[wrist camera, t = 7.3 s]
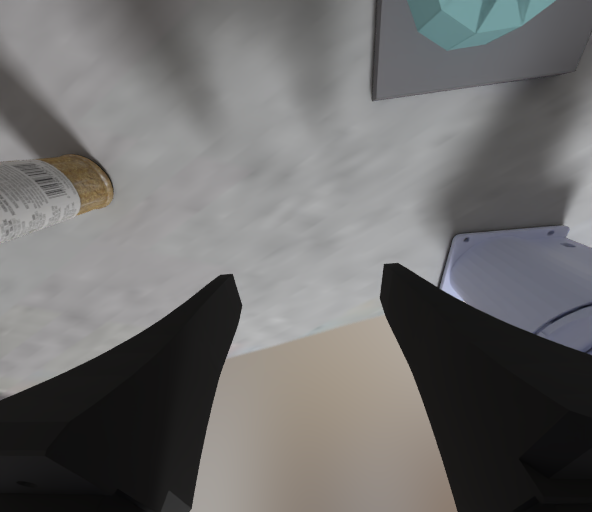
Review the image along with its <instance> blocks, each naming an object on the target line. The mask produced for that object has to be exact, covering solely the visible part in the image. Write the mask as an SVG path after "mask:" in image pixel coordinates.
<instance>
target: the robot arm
mask: <svg viewBox="0 0 592 512" xmlns="http://www.w3.org/2000/svg"><path fill="white" fill-rule="evenodd" d="M569 230H570V229H569V227H567V226H564V225H559V226H548V227H536V228H524V229H513V230H501V231H489V232H477V233H466V234H458V235H456V236H455V237H454V238H453V241H452V245H451V248H450V252H449V255H448V259H447V263H446V266H445V270H444V273H443V277H442V281H441V284H440V288H438V287H436V286H434V285H433V284H431V283H430V282H428V281H426V280H425V279H423V278H421V277H420V276H418V275H417V274H415V273H414V272H412V271H410V270H409V269H407V268H405V267H404V266H402V265H400V264H398V263H392V264H384V268H383V277H382V285H381V293H380V300H381V303H382V307H383V310H384V313H385V316H386V318H387V320H388V323H389V325H390V327H391V329H392V331H393V333H394V335H395V337H396V339H397V341H398V343H399V345H400V348H401V349H402V352H403V354H404V356H405V358H406V360H407V362H408V364H409V367H410V369H411V371H412V373H413V376H414V379H415V381H416V384H417V387H418V390H419V392H420V395H421V398H422V400H423V403H424V406H425V409H426V412H427V415H428V418H429V421H430V423H431V427H432V430H433V433H434V436H435V439H436V442H437V445H438V448H439V451H440V454H441V457H442V460H443V464H444V467H445V470H446V474H447V477H448V480H449V484H450V487H451V490H452V494H453V497H454V500H455V504H456V507H457V511H458V512H592V248H591V247H588V246H586V245H583V244H581V243H578V242H575V241H573V240H570V239H568V238H566V236H567V234H568V232H569ZM465 238H467V239H466V240H464V239H465ZM463 301H465V302H466V303H467V304H466V303H465V302H463ZM241 309H242V303H241V300H240V297H239V293H238V290H237V287H236V283H235V280H234V277H233V274H225V275H220V276H218V277H217V278H215V279H214V280H213V281H211V282H210V283H209V284H208V285H206V286H205V287H204V288H203V289H201V290H200V291H199V292H197V293H196V294H195V295H194V296H192V297H191V298H190V299H189V300H187V301H186V302H185V303H183V304H182V305H181V306H179V307H178V308H176V309H175V310H174V311H172V312H171V313H170V314H168V315H167V316H165V317H164V318H163V319H161V320H160V321H158V322H157V323H155V324H154V325H152V326H150V327H149V328H147V329H146V330H144V331H142V332H141V333H139V334H137V335H136V336H134V337H132V338H130V339H129V340H127V341H125V342H123V343H122V344H120V345H118V346H116V347H114V348H113V349H111V350H109V351H107V352H105V353H103V354H101V355H100V356H98V357H96V358H94V359H92V360H90V361H88V362H86V363H84V364H82V365H79V366H77V367H75V368H73V369H71V370H69V371H67V372H65V373H63V374H60V375H58V376H56V377H54V378H52V379H49V380H47V381H45V382H42V383H40V384H38V385H35V386H33V387H31V388H29V389H26V390H24V391H22V392H19V393H17V394H15V395H12V396H10V397H7V398H5V399H3V400H1V401H0V512H189V511H190V510H191V509H192V503H193V497H194V491H195V486H196V480H197V475H198V469H199V464H200V459H201V453H202V449H203V444H204V439H205V435H206V430H207V425H208V421H209V417H210V412H211V408H212V404H213V400H214V396H215V392H216V388H217V384H218V380H219V377H220V374H221V371H222V368H223V365H224V362H225V359H226V357H227V354H228V351H229V349H230V346H231V343H232V340H233V338H234V335H235V332H236V329H237V326H238V323H239V319H240V314H241Z"/></svg>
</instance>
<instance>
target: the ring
mask: <svg viewBox="0 0 592 512" xmlns="http://www.w3.org/2000/svg"><path fill="white" fill-rule="evenodd" d="M554 1H556V0H407V2H408V5H409V7H410V10H411V13H412V16H413V19H414V22H415V25H416V28H417V31H418V32H419V33H421V34H422V35H424V36H425V37H427V38H428V39H430V40H431V41H433V42H434V43H436V44H437V45H439V46H441V47H442V48H444V49H445V50H446V51H448V50H454V49H460V48H466V47H472V46H478V45H485V44H487V43H489V42H491V41H493V40H495V39H497V38H499V37H501V36H503V35H505V34H507V33H509V32H511V31H513V30H515V29H517V28H519V27H521V26H523V25H524V24H525V23H526V22H528V21H529V20H530V19H532V18H533V17H534V16H536V15H537V14H538V13H540V12H541V11H542V10H544V9H545V8H546V7H548V6H549V5H550V4H552V3H553V2H554Z"/></svg>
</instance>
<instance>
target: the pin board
mask: <svg viewBox="0 0 592 512" xmlns="http://www.w3.org/2000/svg"><path fill="white" fill-rule="evenodd" d="M591 32H592V0H556V1H554V2H553V3H552V4H550V5H549V6H548V7H546V8H545V9H544V10H542V11H541V12H540V13H538V14H537V15H536V16H534V17H533V18H532V19H530V20H529V21H528V22H526V23H525V24H524V25H523V26H521V27H519V28H517V29H515V30H513V31H511V32H509V33H507V34H505V35H503V36H501V37H499V38H497V39H495V40H493V41H491V42H489V43H487V44H485V45H478V46H472V47H466V48H460V49H454V50H448V51H446V50H445V49H444V48H442V47H441V46H439V45H437V44H436V43H434V42H433V41H431V40H430V39H428V38H427V37H425V36H424V35H422V34H421V33H419V32H418V31H417V28H416V25H415V22H414V19H413V16H412V13H411V10H410V7H409V5H408V2H407V0H377V16H376V36H375V55H374V74H373V94H372V101H377V100H384V99H391V98H399V97H406V96H413V95H420V94H427V93H434V92H441V91H448V90H455V89H462V88H469V87H477V86H484V85H491V84H498V83H505V82H512V81H519V80H526V79H533V78H540V77H548V76H555V75H560V74H565V73H569V72H573V71H576V68H577V66H578V63H579V61H580V58H581V56H582V54H583V51H584V49H585V46H586V44H587V41H588V39H589V37H590V34H591Z"/></svg>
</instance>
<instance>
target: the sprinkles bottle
mask: <svg viewBox="0 0 592 512" xmlns="http://www.w3.org/2000/svg"><path fill="white" fill-rule="evenodd" d="M112 199H113V188H112V185H111V182H110V179H109V178H108V176H107V175H106V174H105V172H104V171H103V170H102V169H101V168H100V167H99V166H98V165H96V164H95V163H94V162H93V161H91V160H89V159H87V158H85V157H82V156H79V155H73V154H67V155H63V156H61V157H55V158H44V159H33V160H21V161H20V160H18V161H6V162H0V244H2V243H4V242H7V241H10V240H13V239H15V238H18V237H21V236H24V235H26V234H29V233H32V232H35V231H38V230H40V229H43V228H46V227H49V226H52V225H54V224H57V223H60V222H63V221H66V220H68V219H71V218H73V217H75V216H77V215H80V214H83V213H86V212H88V211H91V210H93V209H100V208H103V207H106V206H107V205H109V204H110V203H111V201H112Z"/></svg>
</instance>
